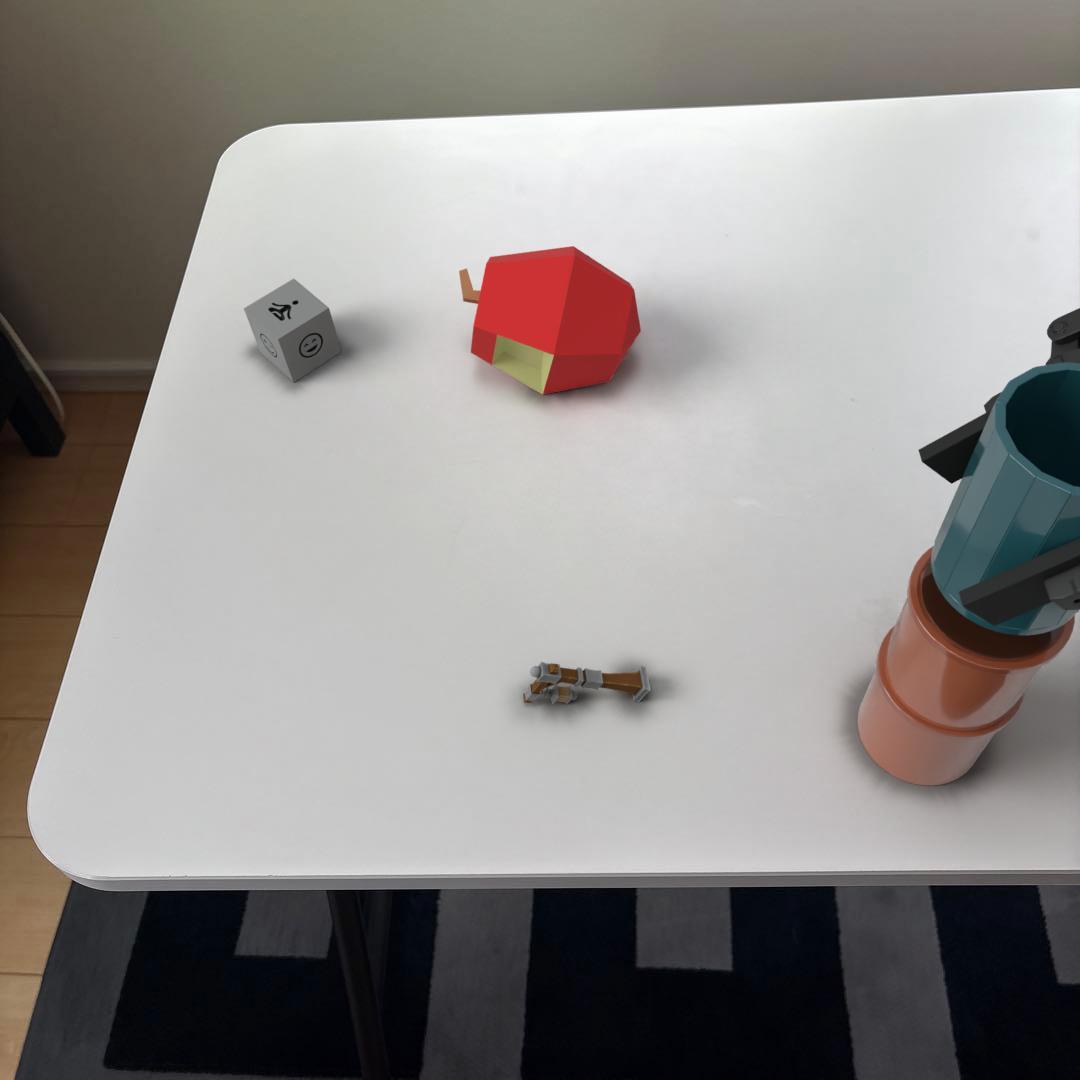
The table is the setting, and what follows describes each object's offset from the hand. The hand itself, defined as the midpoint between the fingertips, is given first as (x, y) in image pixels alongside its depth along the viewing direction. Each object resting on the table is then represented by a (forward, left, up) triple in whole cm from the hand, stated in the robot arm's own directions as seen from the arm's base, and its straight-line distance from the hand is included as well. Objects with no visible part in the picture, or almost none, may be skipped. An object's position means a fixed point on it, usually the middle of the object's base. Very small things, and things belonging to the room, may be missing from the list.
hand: (955, 534), depth 50 cm
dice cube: (+25, +49, -22) cm, 59 cm away
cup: (+1, -3, -4) cm, 5 cm away
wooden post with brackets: (-2, +18, -22) cm, 28 cm away
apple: (+28, +27, -22) cm, 44 cm away
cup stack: (+1, -3, -22) cm, 22 cm away
